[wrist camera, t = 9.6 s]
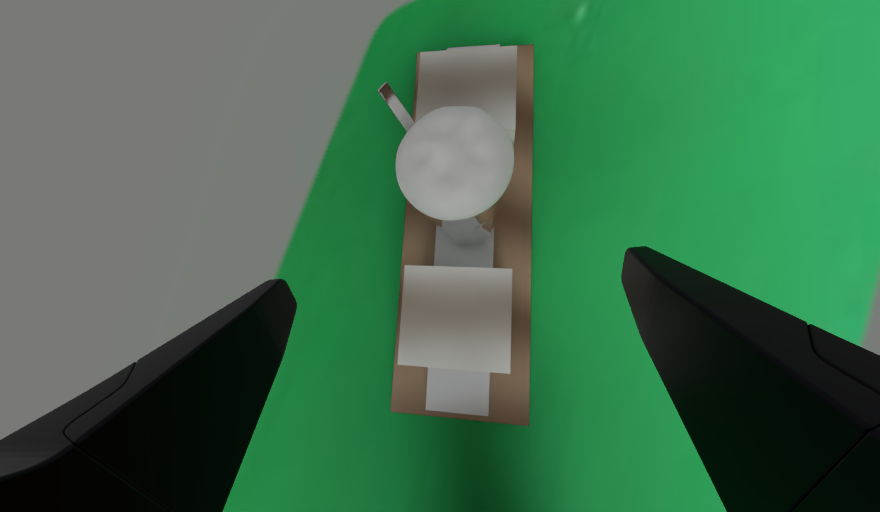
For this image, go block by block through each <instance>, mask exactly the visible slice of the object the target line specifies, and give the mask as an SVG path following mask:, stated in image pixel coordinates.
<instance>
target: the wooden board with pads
mask: <svg viewBox="0 0 880 512" xmlns="http://www.w3.org/2000/svg"><path fill="white" fill-rule="evenodd" d="M533 76H534V44H533V45H519V46H503V47H500V44H497V45H483V46H469V47H455V48H447V50H445V51H430V52H417V65H416V78H415V92H414V105H413V118H412V119H413V121H414V122H415V123H416V122H417V121H418V120H420V119H421V118H422V117H423V116H425V115H426V114H428V113H430V112H431V111H433V110H436V109H438V108H441V107H447V106H473V107H478V108H480V109H482V110H484V111H485V112H487V113H488V114H490V115H491V116H492V117H493V118H495V119H496V120H497V121H498V122H499V123H500V124H501V125H502V126H503V127H504V128H505V129H506V131H507V132H508V134H509V136H510V138H511V141H512V144H513V149H514V167H513V173H512V177H511V180H510V183H509V185H508V188H507V190H506V193H505V196H504V198H503V201H502V204H501V208H500V211H499V215H498V219H497V222H496V224H495V226H494V228H493V230H492V233H491V235H490V237H488V238H487V239H485V240H483V241H481V242H480V243H478V244H476V245H465V244H457V243H456V242H455V241H454V240H453V239H452V238H450V237H449V236H448V235H447V234H446V233H445V232H444V231H443V230H442V229H441V228H440V227H439V226H438V225H437V224H435V223H434V222H433V221H431V220H430V219H429V218H427V217H426V216H425V215H424V214H422V213H421V212H420V211H419V210H417V209H416V208H415V207H414V206H413V205H412V204H411V203H410V202H409V201H408V200H407V199H406V211H405V225H404V238H403V251H402V264H401V278H400V291H399V304H398V318H397V331H396V344H395V358H394V371H393V384H392V397H391V411H390V412H399V413H408V414H418V415H427V416H437V417H446V418H456V419H465V420H475V421H484V422H494V423H503V424H513V425H523V426H529V403H530V321H531V240H532V158H533Z"/></svg>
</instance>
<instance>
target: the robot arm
mask: <svg viewBox="0 0 880 512" xmlns="http://www.w3.org/2000/svg"><path fill="white" fill-rule="evenodd" d="M622 284H623V287H624V290H625V293H626V296H627V299H628V302H629V304H630V307H631V310H632V313H633V316H634V319H635V322H636V325H637V328H638V330H639V333H640V336H641V338H642V340H643V342H644V344H645V347H646V349H647V351H648V353H649V355H650V357H651V359H652V361H653V363H654V365H655V367H656V369H657V371H658V373H659V375H660V377H661V379H662V381H663V383H664V385H665V387H666V389H667V391H668V393H669V395H670V397H671V399H672V401H673V403H674V405H675V407H676V409H677V411H678V413H679V416H680V418H681V420H682V422H683V424H684V426H685V428H686V430H687V432H688V434H689V436H690V438H691V440H692V442H693V444H694V446H695V448H696V450H697V452H698V454H699V456H700V458H701V460H702V462H703V464H704V466H705V468H706V470H707V472H708V474H709V476H710V478H711V480H712V482H713V484H714V486H715V488H716V491H717V493H718V495H719V497H720V499H721V501H722V503H723V505H724V507H725V509H726V511H727V512H880V355H877V354H875V353H873V352H870V351H868V350H866V349H864V348H862V347H860V346H857V345H855V344H853V343H851V342H849V341H846V340H844V339H842V338H840V337H838V336H835V335H833V334H831V333H829V332H827V331H825V330H823V329H821V328H819V327H816V326H814V325H812V324H809V325H807V322H805V321H803V320H801V319H799V318H797V317H795V316H793V315H791V314H789V313H787V312H784V311H782V310H780V309H778V308H776V307H774V306H772V305H770V304H767V303H765V302H763V301H761V300H759V299H757V298H755V297H753V296H750V295H748V294H746V293H744V292H742V291H740V290H738V289H736V288H733V287H731V286H729V285H727V284H725V283H723V282H721V281H719V280H717V279H714V278H712V277H710V276H708V275H706V274H704V273H702V272H700V271H697V270H695V269H693V268H691V267H689V266H687V265H685V264H683V263H680V262H678V261H676V260H674V259H672V258H670V257H668V256H666V255H664V254H661V253H659V252H657V251H655V250H653V249H651V248H649V247H646V246H641V247H631V248H628V249H627V250H626V252H625V257H624V263H623V269H622ZM296 309H297V303H296V300H295V298H294V296H293V294H292V292H291V290H290V288H289V286H288V284H287V282H286V281H285V280H283V279H273V280H268V281H266V282H264V283H263V284H261V285H259V286H258V287H256V288H255V289H253V290H252V291H250V292H248V293H246V294H245V295H243V296H241V297H240V298H238V299H237V300H235V301H233V302H232V303H230V304H228V305H227V306H225V307H224V308H222V309H220V310H219V311H217V312H216V313H214V314H212V315H211V316H209V317H207V318H206V319H204V320H203V321H201V322H199V323H198V324H196V325H194V326H193V327H191V328H189V329H188V330H187V331H185V332H183V333H181V334H180V335H178V336H176V337H175V338H173V339H172V340H170V341H168V342H167V343H165V344H163V345H162V346H160V347H158V348H157V349H155V350H154V351H152V352H150V353H149V354H147V355H145V356H144V357H142V358H141V359H139V360H138V361H137V362H134V363H132V364H131V365H129V366H128V367H126V368H124V369H123V370H121V371H119V372H118V373H116V374H114V375H113V376H111V377H110V378H108V379H106V380H105V381H103V382H101V383H100V384H98V385H96V386H94V387H93V388H91V389H89V390H88V391H86V392H84V393H82V394H81V395H79V396H77V397H75V398H74V399H72V400H70V401H69V402H67V403H65V404H63V405H61V406H60V407H58V408H56V409H54V410H53V411H51V412H49V413H47V414H46V415H44V416H42V417H40V418H38V419H37V420H35V421H33V422H31V423H29V424H28V425H26V426H24V427H22V428H21V429H19V430H17V431H15V432H13V433H12V434H10V435H8V436H6V437H5V438H3V439H1V440H0V512H222V511H223V509H224V506H225V504H226V501H227V499H228V496H229V494H230V491H231V489H232V486H233V483H234V481H235V478H236V476H237V473H238V471H239V468H240V466H241V463H242V461H243V458H244V456H245V453H246V450H247V448H248V445H249V443H250V440H251V438H252V435H253V433H254V430H255V428H256V425H257V422H258V420H259V417H260V415H261V412H262V410H263V407H264V405H265V402H266V400H267V397H268V394H269V392H270V389H271V387H272V384H273V382H274V379H275V377H276V374H277V372H278V369H279V367H280V364H281V361H282V358H283V355H284V352H285V349H286V345H287V342H288V338H289V335H290V331H291V327H292V324H293V320H294V316H295V313H296Z"/></svg>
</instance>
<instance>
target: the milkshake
mask: <svg viewBox="0 0 880 512" xmlns="http://www.w3.org/2000/svg"><path fill="white" fill-rule="evenodd" d="M378 92H379V94H380V95H381V97H382V98H383V100H384V101H385V102H386V104H387V105H388V106H389V108H390V109H391V111H392V112H393V113H394V115H395V116H396V117H397V119H398V120H399V122H400V123H401V124H402V126H403V127H404V129H405V130H406V131H407V133H406V135H405V136H404V138H403V139H402V141H401V143H400V145H399V148H398V150H397V154H396V176H397V180H398V184H399V187H400V189H401V191H402V193H403V194H404V196H405V197H406V199H407V200H408V201H409V202H410V203H411V204H412V205H413V206H414V207H415V208H416V209H417V210H419V211H420V212H421V213H422V214H424V215H425V216H426V217H427V218H429V219H430V220H431V221H433V222H434V223H435V224H437V225H438V226H439V227H440V228H441V229H442V230H443V231H444V232H445V233H446V234H447V235H448V236H449V237H450V238H452V239H453V240H454V241H455V242H456V243H457V244H465V245H476V244H478V243H480V242H481V241H483V240H485V239H487V238H488V237H490V235H491V233H492V230H493V228H494V226H495V224H496V222H497V219H498V215H499V211H500V208H501V204H502V201H503V198H504V196H505V193H506V190H507V188H508V185H509V183H510V180H511V177H512V173H513V167H514V149H513V144H512V141H511V138H510V136H509V134H508V132H507V131H506V129H505V128H504V127H503V126H502V125H501V124H500V123H499V122H498V121H497V120H496V119H495V118H493V117H492V116H491V115H490V114H488V113H487V112H485V111H484V110H482V109H480V108H478V107H473V106H447V107H441V108H438V109H436V110H433V111H431V112H430V113H428V114H426V115H425V116H423V117H422V118H421V119H420V120H418V121H417V122H416V123H415V122H414V121H413V119H412V118H411V116H410V115H409V114H408V112H407V111H406V109H405V108H404V106H403V105H402V103H401V102H400V100H399V99H398V97H397V96H396V94H395V93H394V91H393V90H392V89H391V87H390V86H389V84H388V83H387V82H385V83H384V84H383V85H382V86H381V87H380V88H379V89H378Z"/></svg>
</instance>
